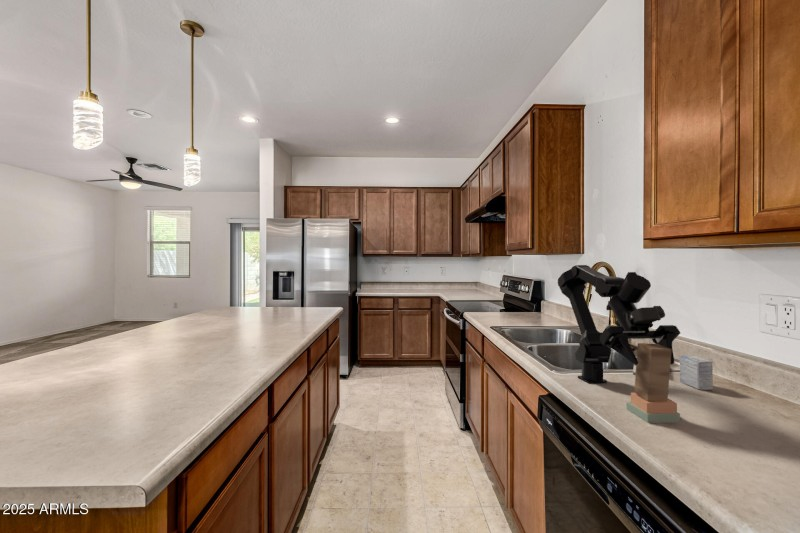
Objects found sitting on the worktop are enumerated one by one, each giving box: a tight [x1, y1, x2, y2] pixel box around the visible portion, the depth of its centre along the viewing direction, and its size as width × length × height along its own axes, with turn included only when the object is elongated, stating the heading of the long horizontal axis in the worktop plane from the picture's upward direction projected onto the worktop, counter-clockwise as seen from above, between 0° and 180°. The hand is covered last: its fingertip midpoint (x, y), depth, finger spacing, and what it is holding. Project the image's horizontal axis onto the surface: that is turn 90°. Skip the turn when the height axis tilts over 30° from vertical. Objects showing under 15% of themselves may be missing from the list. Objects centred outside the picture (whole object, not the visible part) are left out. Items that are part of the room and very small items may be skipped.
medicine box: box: [679, 354, 714, 391], centre depth 115 cm, size 8×4×9 cm, turn 179°
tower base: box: [625, 401, 681, 424], centre depth 94 cm, size 8×8×2 cm
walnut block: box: [633, 342, 673, 401], centre depth 93 cm, size 5×5×13 cm
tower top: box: [630, 392, 678, 414], centre depth 93 cm, size 7×7×2 cm
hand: (654, 363), depth 93 cm, fingers open, 9 cm apart
